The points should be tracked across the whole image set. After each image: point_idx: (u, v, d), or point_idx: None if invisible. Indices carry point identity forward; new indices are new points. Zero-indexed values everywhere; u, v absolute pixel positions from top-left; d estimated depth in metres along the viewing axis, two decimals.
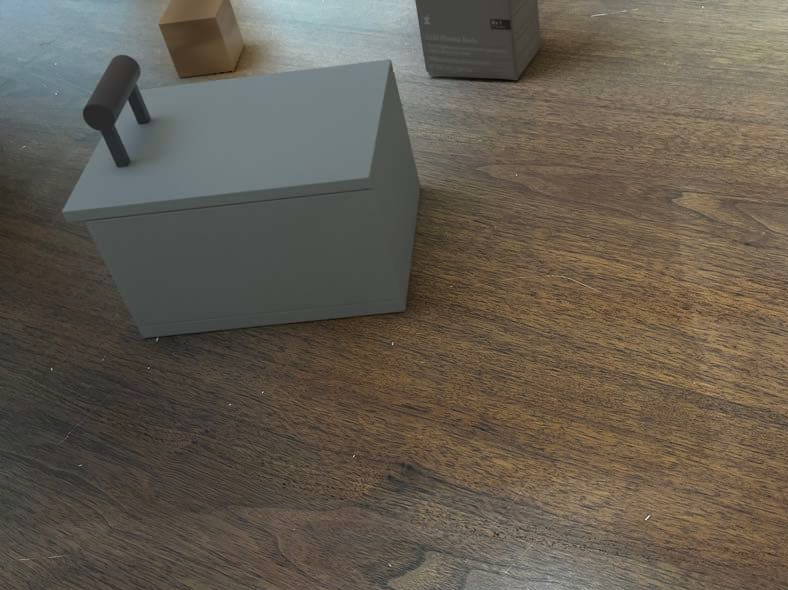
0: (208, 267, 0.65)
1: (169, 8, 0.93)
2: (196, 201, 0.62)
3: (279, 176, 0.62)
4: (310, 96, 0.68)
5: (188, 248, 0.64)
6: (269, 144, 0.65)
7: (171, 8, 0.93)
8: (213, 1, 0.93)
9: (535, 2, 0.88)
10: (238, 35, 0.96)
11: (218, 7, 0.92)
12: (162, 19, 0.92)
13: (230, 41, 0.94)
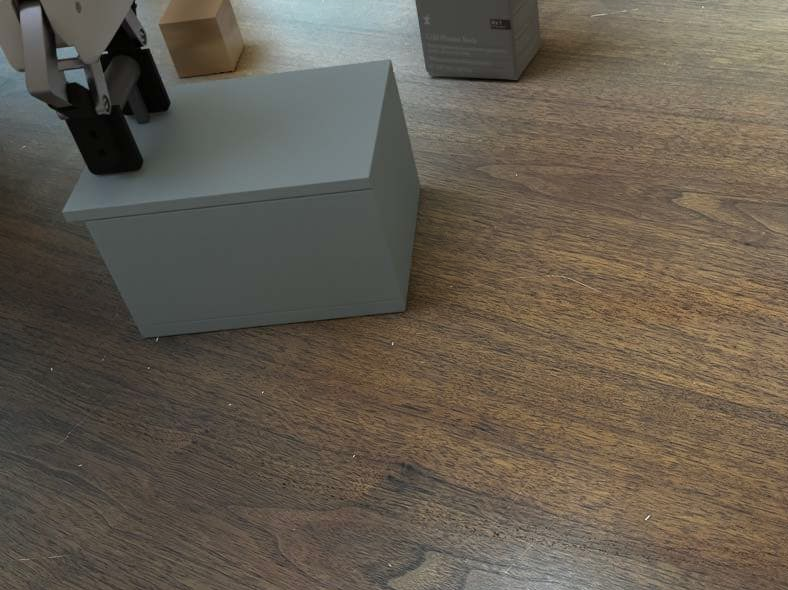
0: (208, 267, 0.65)
1: (169, 8, 0.93)
2: (196, 201, 0.62)
3: (279, 176, 0.62)
4: (310, 96, 0.68)
5: (188, 248, 0.64)
6: (269, 144, 0.65)
7: (171, 8, 0.93)
8: (213, 1, 0.93)
9: (535, 2, 0.88)
10: (238, 35, 0.96)
11: (218, 7, 0.92)
12: (162, 19, 0.92)
13: (230, 41, 0.94)
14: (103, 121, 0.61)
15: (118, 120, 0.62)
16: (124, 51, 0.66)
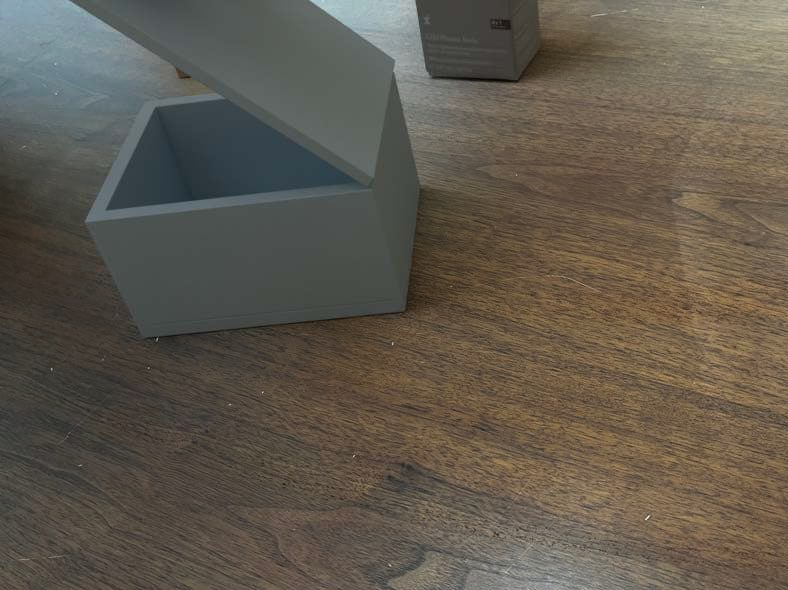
0: (208, 267, 0.65)
1: None
2: (207, 78, 0.57)
3: (293, 114, 0.59)
4: (323, 43, 0.66)
5: (188, 248, 0.64)
6: (284, 68, 0.61)
7: None
8: None
9: (535, 2, 0.88)
10: None
11: None
12: None
13: None
14: None
15: None
16: None
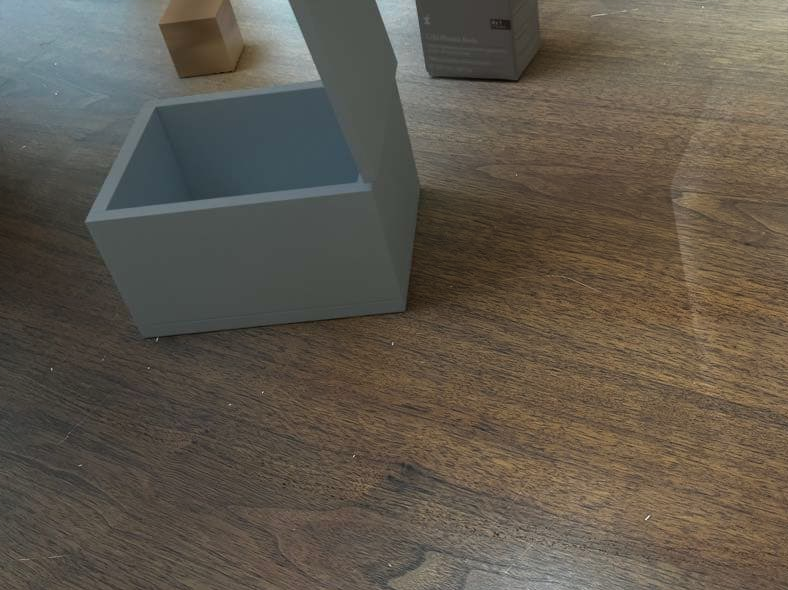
0: (208, 267, 0.65)
1: (169, 8, 0.93)
2: (303, 14, 0.54)
3: (345, 86, 0.58)
4: (366, 20, 0.65)
5: (188, 248, 0.64)
6: (345, 34, 0.60)
7: (171, 8, 0.93)
8: (213, 1, 0.93)
9: (535, 2, 0.88)
10: (238, 35, 0.96)
11: (218, 7, 0.92)
12: (162, 19, 0.92)
13: (230, 41, 0.94)
14: None
15: None
16: None
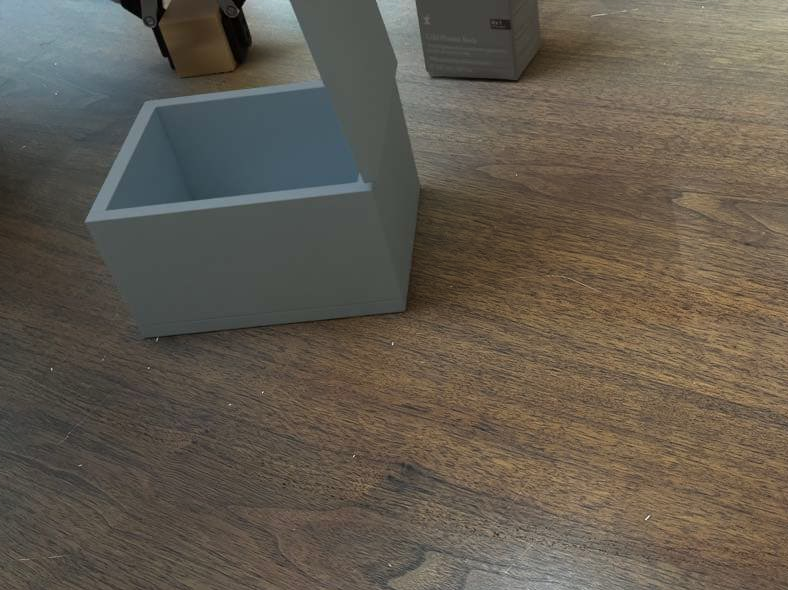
0: (208, 267, 0.65)
1: (169, 8, 0.93)
2: (304, 14, 0.54)
3: (346, 86, 0.58)
4: (367, 20, 0.65)
5: (188, 248, 0.64)
6: (346, 34, 0.60)
7: (171, 8, 0.93)
8: (213, 1, 0.93)
9: (535, 2, 0.88)
10: None
11: (218, 7, 0.92)
12: (162, 19, 0.92)
13: None
14: (154, 29, 0.93)
15: (159, 35, 0.93)
16: None
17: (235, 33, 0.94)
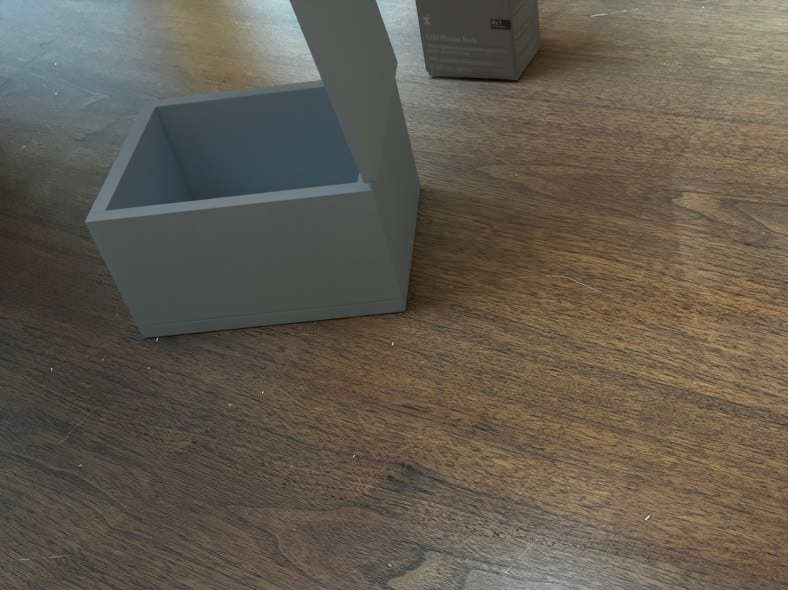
0: (208, 267, 0.65)
1: None
2: (304, 14, 0.54)
3: (346, 86, 0.58)
4: (367, 20, 0.65)
5: (188, 248, 0.64)
6: (346, 34, 0.60)
7: None
8: None
9: (535, 2, 0.88)
10: None
11: None
12: None
13: None
14: None
15: None
16: None
17: None
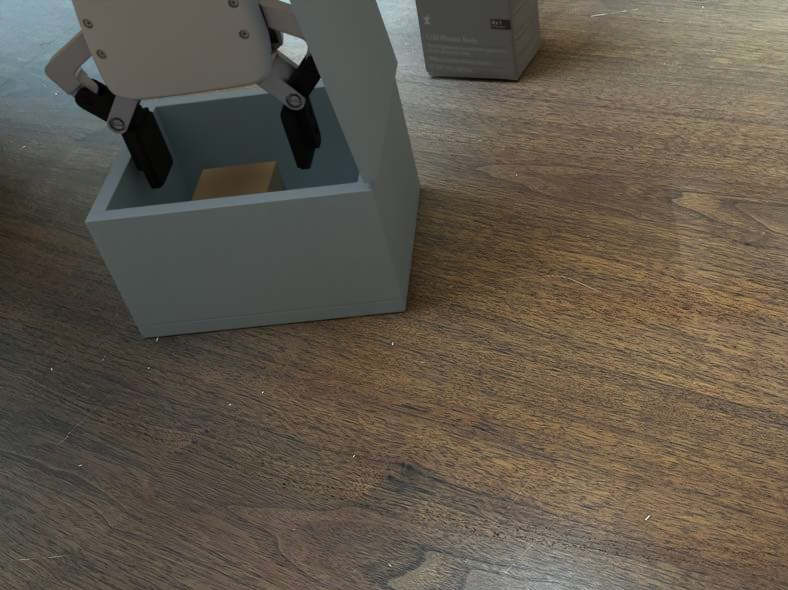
0: (208, 267, 0.65)
1: (200, 186, 0.70)
2: (304, 14, 0.54)
3: (346, 86, 0.58)
4: (367, 20, 0.65)
5: (188, 248, 0.64)
6: (346, 34, 0.60)
7: (203, 185, 0.70)
8: (258, 176, 0.70)
9: (535, 2, 0.88)
10: None
11: (266, 188, 0.69)
12: None
13: None
14: (124, 134, 0.66)
15: (132, 143, 0.65)
16: None
17: (299, 130, 0.65)
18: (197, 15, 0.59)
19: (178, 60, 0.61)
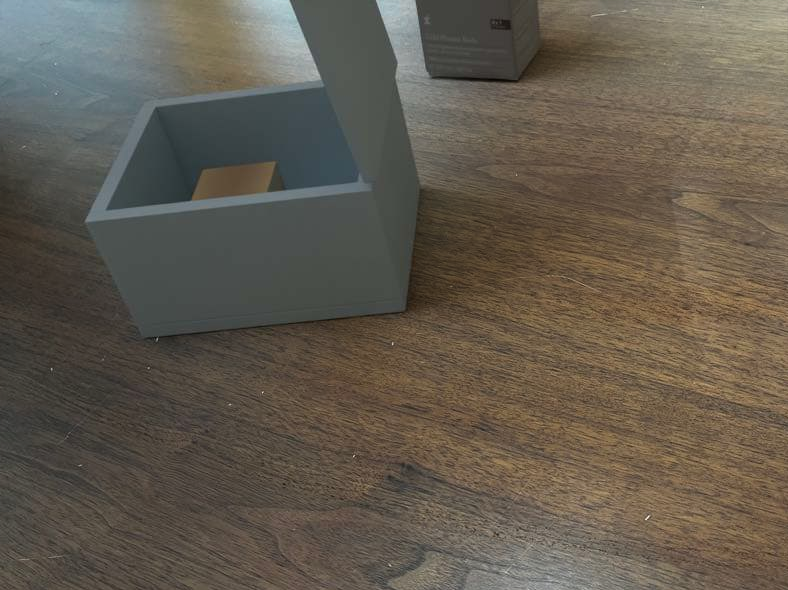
0: (208, 267, 0.65)
1: (200, 186, 0.70)
2: (304, 14, 0.54)
3: (346, 86, 0.58)
4: (367, 20, 0.65)
5: (188, 248, 0.64)
6: (346, 34, 0.60)
7: (203, 185, 0.70)
8: (258, 176, 0.70)
9: (535, 2, 0.88)
10: None
11: (266, 188, 0.69)
12: None
13: None
14: None
15: None
16: None
17: None
18: None
19: None
